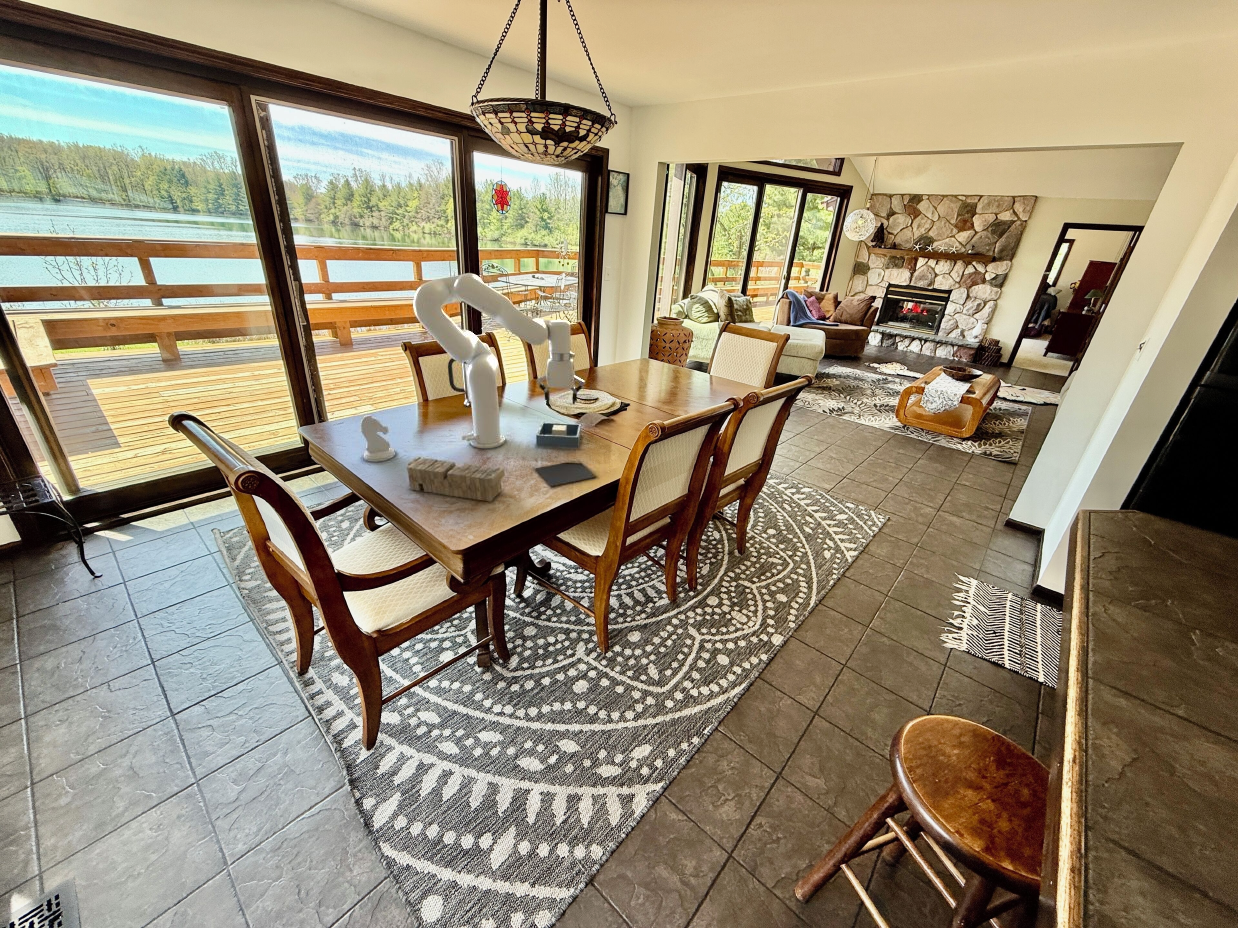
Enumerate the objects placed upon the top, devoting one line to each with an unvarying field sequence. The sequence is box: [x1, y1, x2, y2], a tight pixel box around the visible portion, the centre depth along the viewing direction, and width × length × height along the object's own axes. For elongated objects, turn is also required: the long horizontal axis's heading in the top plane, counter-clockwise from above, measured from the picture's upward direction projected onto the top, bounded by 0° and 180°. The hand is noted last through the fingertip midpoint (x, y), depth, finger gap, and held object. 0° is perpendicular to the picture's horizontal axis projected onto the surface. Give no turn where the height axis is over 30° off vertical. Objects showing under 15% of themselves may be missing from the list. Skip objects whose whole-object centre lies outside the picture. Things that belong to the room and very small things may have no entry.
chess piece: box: [360, 414, 396, 463], centre depth 163 cm, size 10×10×15 cm
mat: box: [535, 462, 597, 488], centre depth 161 cm, size 16×14×1 cm
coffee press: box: [447, 342, 493, 407], centre depth 215 cm, size 17×16×30 cm
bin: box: [535, 421, 582, 449], centre depth 184 cm, size 16×14×5 cm
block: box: [552, 425, 567, 436], centre depth 184 cm, size 5×5×5 cm
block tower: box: [406, 456, 506, 503], centre depth 145 cm, size 8×8×29 cm
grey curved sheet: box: [577, 412, 614, 427], centre depth 206 cm, size 14×10×3 cm
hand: (561, 402), depth 178 cm, fingers open, 9 cm apart
